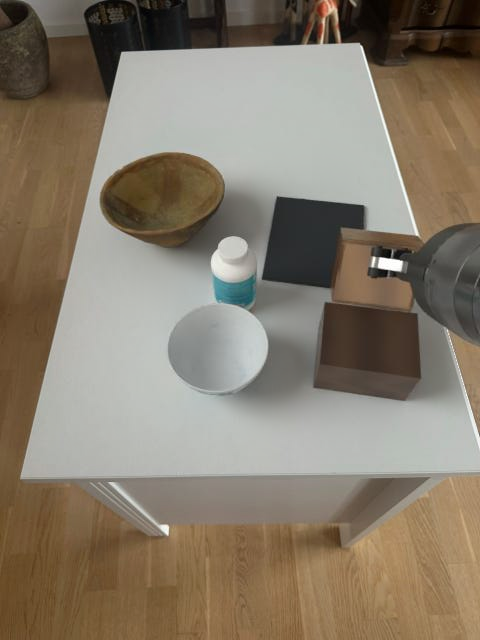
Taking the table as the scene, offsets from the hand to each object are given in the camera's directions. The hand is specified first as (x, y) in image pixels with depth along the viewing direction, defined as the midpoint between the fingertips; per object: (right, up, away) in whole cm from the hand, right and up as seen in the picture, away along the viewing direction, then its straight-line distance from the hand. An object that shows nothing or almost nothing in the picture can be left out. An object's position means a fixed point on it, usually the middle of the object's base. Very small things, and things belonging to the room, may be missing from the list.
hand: (418, 262), depth 45 cm
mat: (-3, +9, +41) cm, 42 cm away
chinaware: (-21, -14, +27) cm, 37 cm away
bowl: (-32, +12, +44) cm, 56 cm away
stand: (+1, -13, +27) cm, 30 cm away
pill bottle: (-19, -2, +34) cm, 39 cm away
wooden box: (+2, +1, +21) cm, 21 cm away
